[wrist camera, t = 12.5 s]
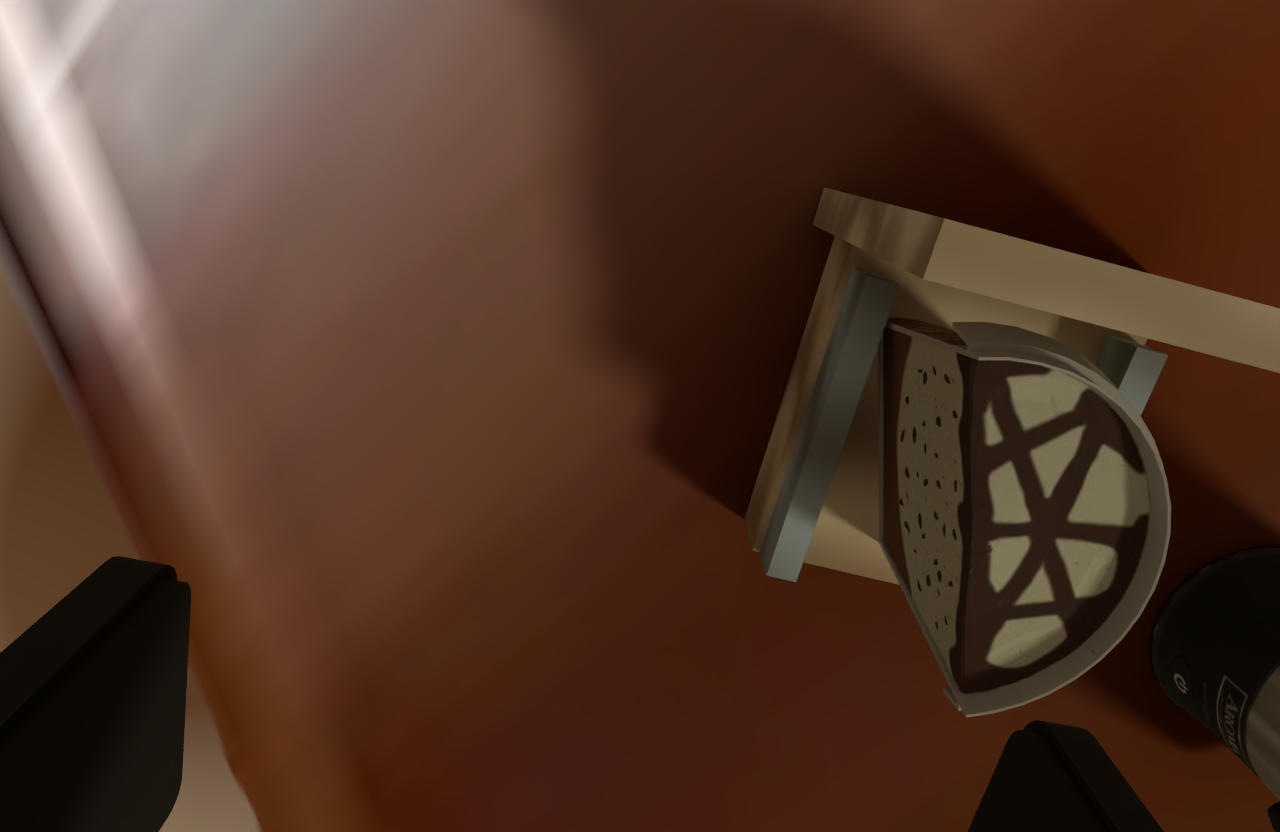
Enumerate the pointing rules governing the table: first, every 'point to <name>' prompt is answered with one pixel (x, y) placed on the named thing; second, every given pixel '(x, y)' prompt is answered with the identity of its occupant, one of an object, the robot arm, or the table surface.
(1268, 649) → the milk frother
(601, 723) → the table surface
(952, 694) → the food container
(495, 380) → the table surface
